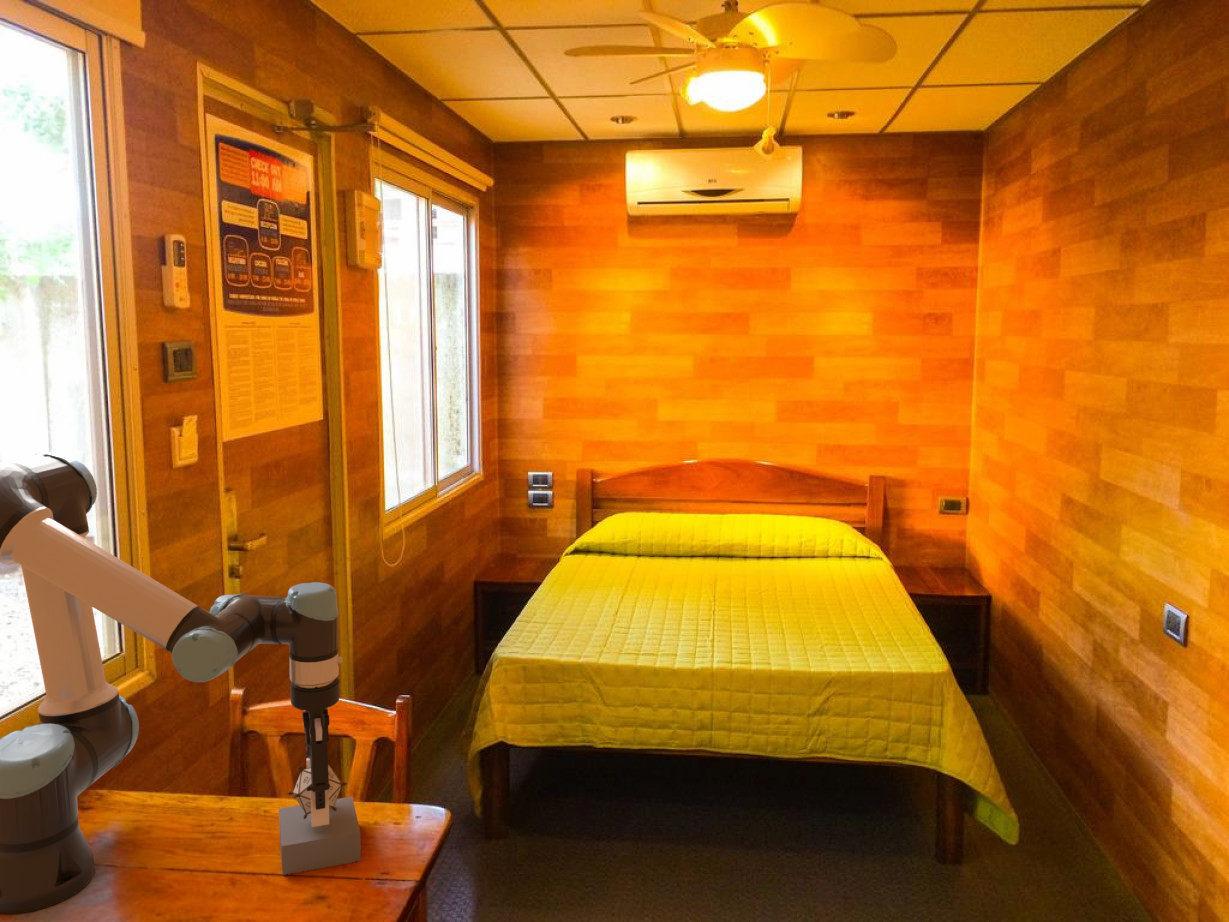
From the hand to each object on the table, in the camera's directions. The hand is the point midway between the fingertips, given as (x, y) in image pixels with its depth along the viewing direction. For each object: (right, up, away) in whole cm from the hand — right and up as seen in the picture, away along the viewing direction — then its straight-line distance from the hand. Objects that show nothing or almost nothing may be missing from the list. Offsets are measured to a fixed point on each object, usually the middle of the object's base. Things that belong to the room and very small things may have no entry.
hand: (318, 808), depth 154 cm
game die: (0, -1, 0) cm, 1 cm away
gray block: (0, -7, +1) cm, 7 cm away
